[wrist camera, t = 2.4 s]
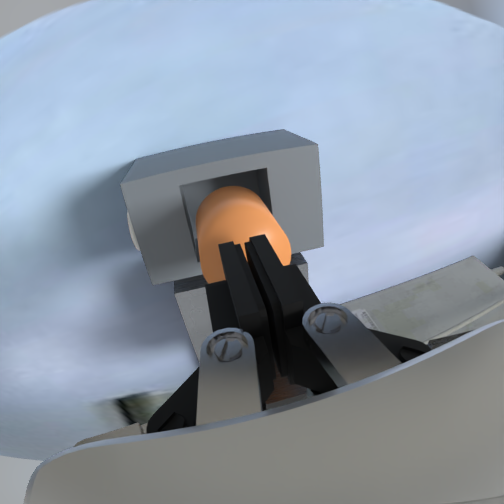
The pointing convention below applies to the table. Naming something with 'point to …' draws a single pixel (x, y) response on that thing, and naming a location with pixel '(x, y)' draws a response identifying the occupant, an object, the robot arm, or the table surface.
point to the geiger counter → (436, 302)
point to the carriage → (199, 328)
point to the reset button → (234, 227)
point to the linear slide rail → (210, 179)
